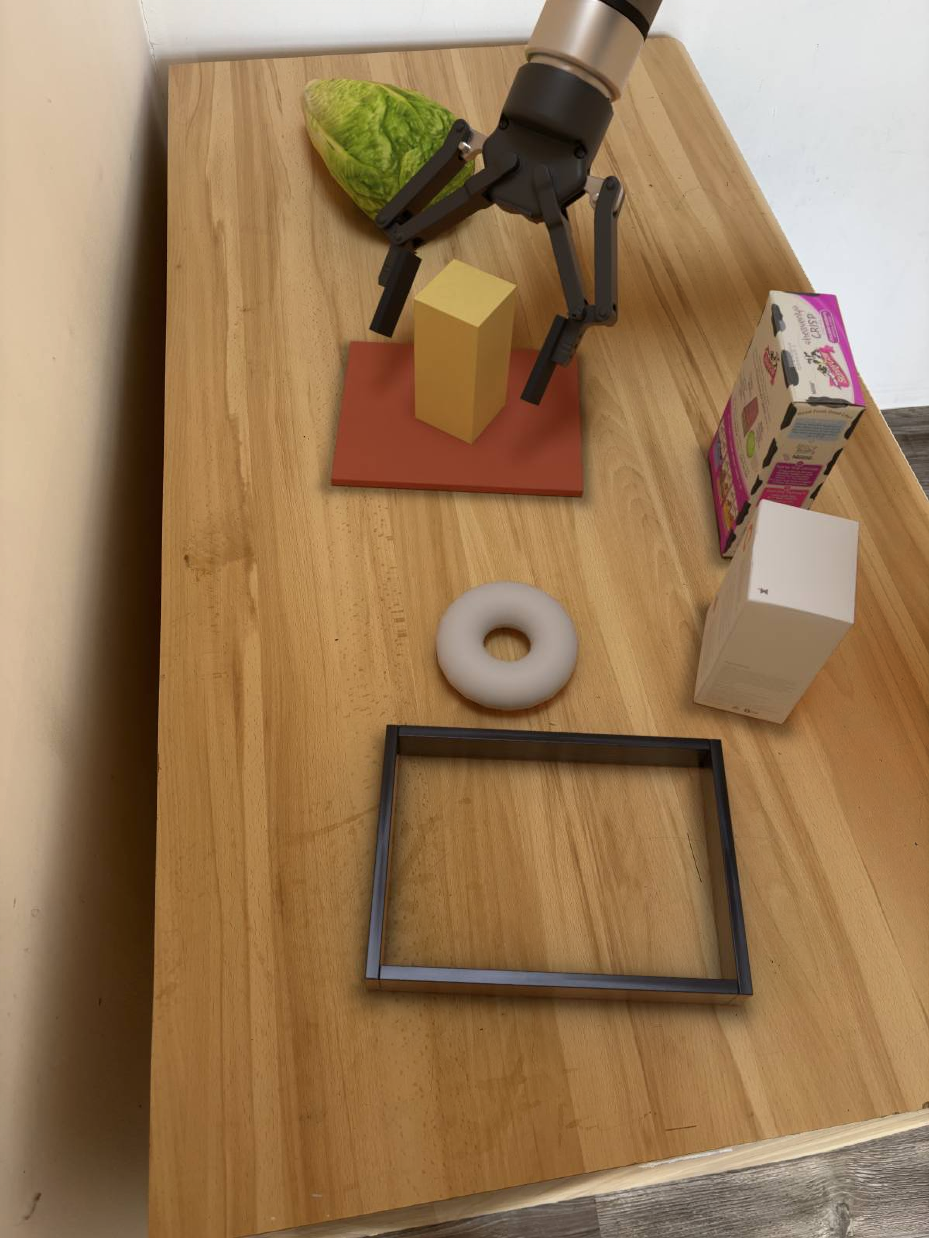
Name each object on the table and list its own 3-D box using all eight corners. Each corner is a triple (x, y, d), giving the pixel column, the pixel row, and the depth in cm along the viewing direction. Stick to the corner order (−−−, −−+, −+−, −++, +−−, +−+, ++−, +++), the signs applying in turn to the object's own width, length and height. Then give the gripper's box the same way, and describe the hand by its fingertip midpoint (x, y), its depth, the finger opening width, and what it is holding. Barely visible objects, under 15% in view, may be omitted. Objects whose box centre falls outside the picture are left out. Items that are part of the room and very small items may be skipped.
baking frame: (709, 757, 63) (721, 738, 60) (738, 1005, 54) (753, 995, 52) (387, 743, 62) (386, 723, 60) (367, 989, 54) (364, 978, 51)
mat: (575, 358, 83) (576, 351, 82) (582, 497, 74) (583, 490, 74) (351, 347, 83) (350, 340, 82) (331, 485, 74) (330, 478, 74)
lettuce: (378, 55, 100) (284, 1, 91) (515, 153, 88) (423, 102, 79) (332, 163, 106) (238, 123, 96) (455, 269, 94) (362, 235, 85)
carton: (505, 404, 79) (517, 285, 68) (471, 445, 76) (478, 327, 66) (450, 379, 80) (453, 258, 70) (415, 417, 77) (413, 298, 67)
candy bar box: (785, 563, 72) (871, 408, 58) (720, 559, 72) (791, 403, 58) (765, 454, 78) (839, 290, 64) (705, 451, 78) (766, 286, 64)
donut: (434, 719, 64) (581, 719, 64) (434, 696, 61) (587, 696, 61) (436, 597, 69) (571, 597, 69) (435, 570, 66) (576, 571, 66)
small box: (782, 726, 64) (856, 626, 53) (691, 703, 65) (745, 599, 54) (792, 631, 68) (862, 519, 57) (706, 610, 69) (758, 496, 58)
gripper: (735, 160, 67) (606, 436, 72) (441, 55, 73) (343, 316, 79) (726, 120, 60) (584, 429, 65) (402, 8, 66) (298, 298, 72)
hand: (452, 368), depth 72 cm, fingers open, 13 cm apart
